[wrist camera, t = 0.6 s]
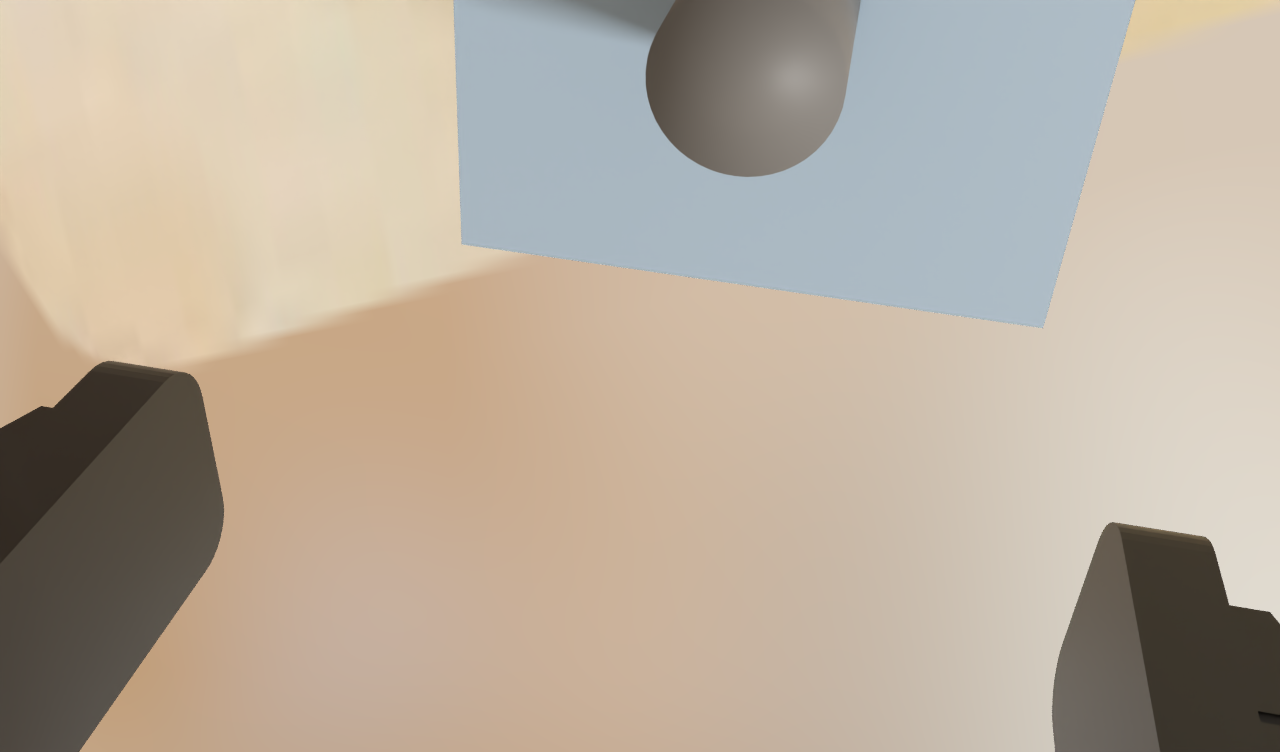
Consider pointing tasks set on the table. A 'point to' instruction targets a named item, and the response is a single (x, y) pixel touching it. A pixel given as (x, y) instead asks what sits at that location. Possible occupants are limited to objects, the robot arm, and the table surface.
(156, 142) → the table surface
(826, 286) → the lid
